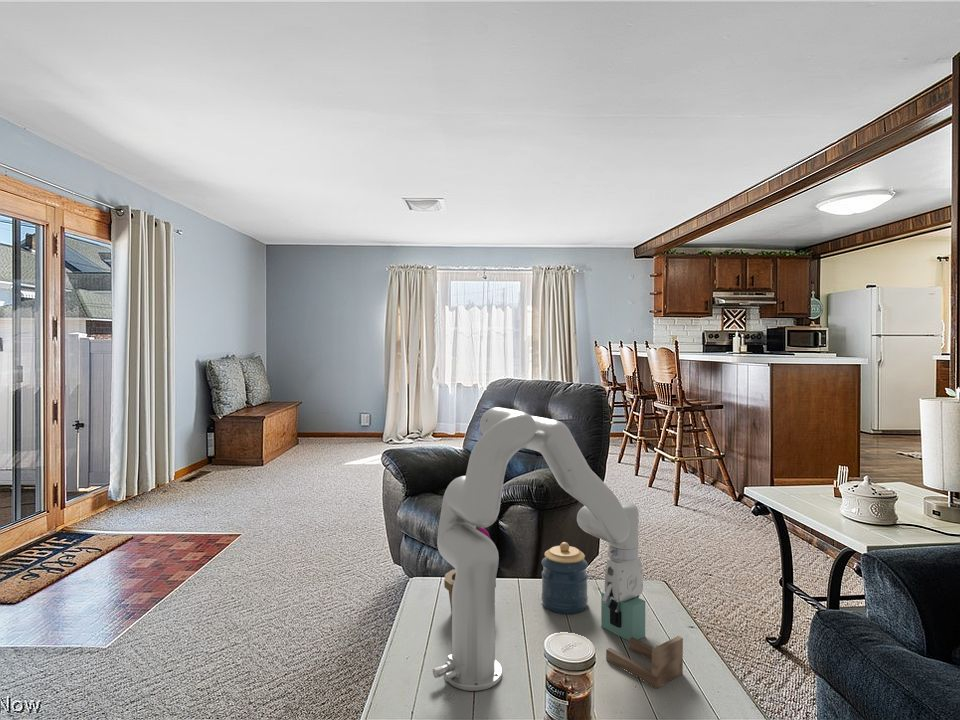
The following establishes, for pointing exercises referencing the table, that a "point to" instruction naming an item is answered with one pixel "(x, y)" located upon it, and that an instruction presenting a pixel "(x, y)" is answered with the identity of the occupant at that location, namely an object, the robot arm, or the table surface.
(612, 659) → the book slot
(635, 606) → the teal rectangular block
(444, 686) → the table surface
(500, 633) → the table surface
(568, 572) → the canister
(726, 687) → the table surface
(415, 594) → the table surface
